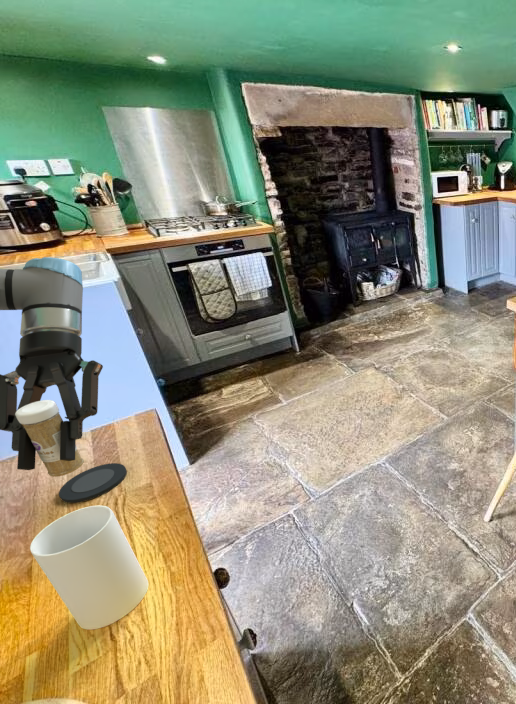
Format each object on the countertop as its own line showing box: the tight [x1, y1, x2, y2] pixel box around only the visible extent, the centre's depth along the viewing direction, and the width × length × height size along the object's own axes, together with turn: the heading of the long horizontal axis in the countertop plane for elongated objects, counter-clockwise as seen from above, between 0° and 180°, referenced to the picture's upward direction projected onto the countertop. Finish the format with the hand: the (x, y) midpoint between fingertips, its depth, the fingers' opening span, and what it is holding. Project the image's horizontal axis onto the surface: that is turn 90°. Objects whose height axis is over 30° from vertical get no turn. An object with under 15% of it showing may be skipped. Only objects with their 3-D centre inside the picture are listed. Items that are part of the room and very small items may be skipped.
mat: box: [58, 462, 128, 504], centre depth 84 cm, size 10×10×1 cm
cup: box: [29, 504, 150, 631], centre depth 60 cm, size 8×8×16 cm
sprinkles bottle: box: [15, 399, 85, 478], centre depth 70 cm, size 5×5×13 cm
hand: (47, 464), depth 68 cm, fingers closed on sprinkles bottle, 4 cm apart
